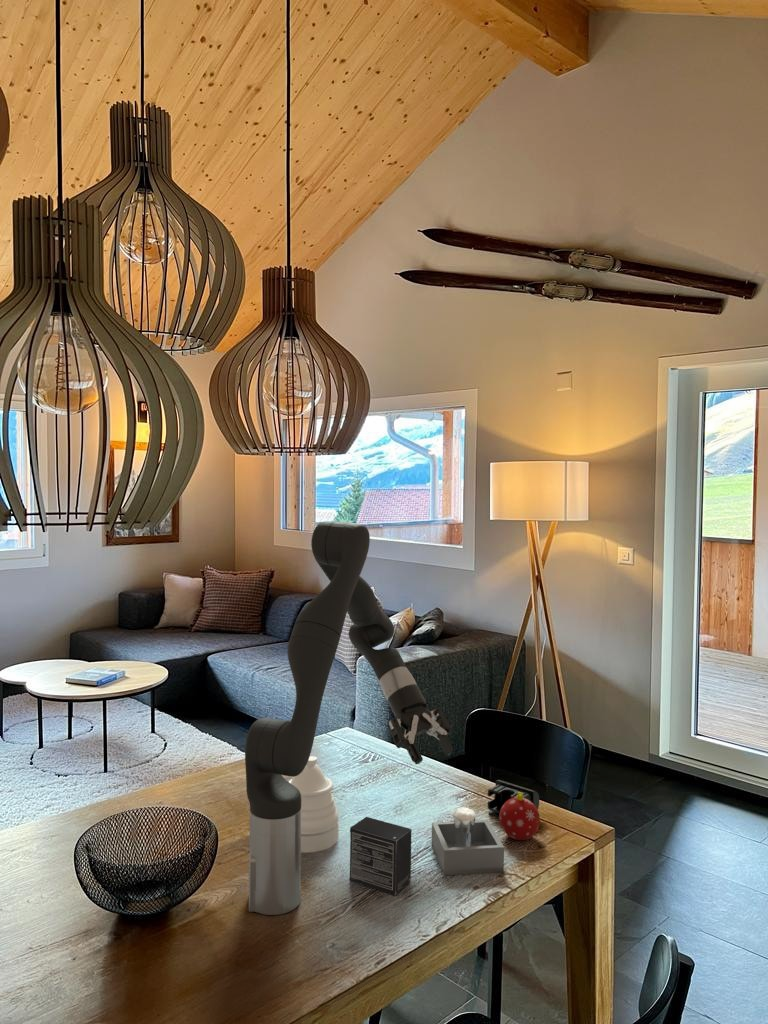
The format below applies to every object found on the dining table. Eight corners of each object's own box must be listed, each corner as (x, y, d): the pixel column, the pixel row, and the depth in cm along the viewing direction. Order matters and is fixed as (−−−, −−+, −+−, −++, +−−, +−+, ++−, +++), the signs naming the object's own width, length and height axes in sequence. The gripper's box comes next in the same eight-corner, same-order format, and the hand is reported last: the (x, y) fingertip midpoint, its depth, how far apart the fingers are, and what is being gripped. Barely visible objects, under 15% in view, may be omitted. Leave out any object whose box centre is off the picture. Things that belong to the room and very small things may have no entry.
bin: (443, 875, 149) (444, 850, 149) (431, 845, 161) (431, 822, 161) (503, 871, 151) (504, 847, 151) (487, 842, 163) (487, 819, 162)
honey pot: (344, 848, 160) (345, 763, 159) (283, 856, 156) (283, 769, 155) (331, 821, 172) (332, 742, 171) (274, 828, 168) (274, 747, 167)
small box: (412, 881, 147) (413, 827, 146) (396, 897, 141) (396, 841, 141) (366, 866, 152) (366, 814, 152) (348, 880, 147) (348, 827, 146)
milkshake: (477, 860, 153) (478, 811, 153) (451, 857, 154) (452, 808, 154) (479, 849, 158) (480, 802, 157) (453, 846, 159) (454, 799, 158)
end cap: (539, 816, 176) (540, 787, 176) (523, 827, 170) (524, 797, 170) (501, 804, 182) (502, 776, 182) (485, 814, 177) (486, 785, 177)
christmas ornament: (526, 851, 159) (527, 804, 159) (491, 838, 165) (492, 792, 164) (546, 837, 166) (547, 791, 165) (512, 825, 171) (513, 781, 171)
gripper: (384, 688, 165) (417, 756, 156) (434, 678, 174) (468, 742, 165) (369, 706, 169) (401, 774, 161) (418, 696, 178) (451, 759, 170)
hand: (435, 758), depth 163 cm, fingers open, 8 cm apart
